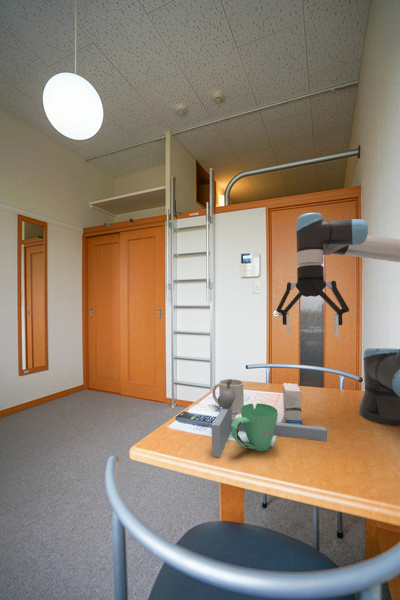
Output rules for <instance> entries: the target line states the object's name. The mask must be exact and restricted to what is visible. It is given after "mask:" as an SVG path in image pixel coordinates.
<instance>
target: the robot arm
mask: <svg viewBox="0 0 400 600" xmlns="http://www.w3.org/2000/svg"><path fill="white" fill-rule="evenodd" d="M295 230H296V231H295V234H296V265H297V266H298V267H297V268H296V272H297V273H296V275H297V276H296V278H297V279H296V283H293V282H290V281H289V282H287V284H286V289H285V292H284V294H283V296H282V298H281V300H280V302H279V304H278V306H277V307H276V309H275V310H276V313H279V314H281V315H282V325H283V326H286V337H290V314H288V312H289V311H291V308H293V306H294V305H296V303H297V302H298V300H299V299H300V298H301V297H305V298H306V297H313V298H314V297H318V296H319V297H320V298H322V299H323V300H324V301H325V303H326V304H327V305H328V306H330V308H331V309H332V310H333V311H334V312H335V314H333V334H334V337H335V338H339V337H340V336H339V335H340V334H339V332H340V330H339V329H340V328H339V326H343V314H345V313H349V312H350V308H349V306H348V305H347V302H346V301H345V300H344V298H343V296H342V294H341V292H340V291H339V289H338V286H337V281H336V280H331V281H327V282H326V281H325V267H324V266H323V264H324V263H325V261H324V260H325V259H324V256H329V255H339V256H340V255H341V256H349V257H357V258H364V259H371V260H380V261H388V262H393V263H394V262H395V263H400V238H394V237H386V236H377V235H368V233H369V226H368V223H367V221H366V220H365V219H362V218H361V219H359V218H358V219H357V218H356V219H355V218H351V219H336V220H333V219H331V220H324V217H323V214H322V213H320V212H308V213H303V214H300V215H299V216H298V217H297V219H296V227H295ZM326 287H328V289H330V290H331V291H332V294H333V295H334V297H335V299H336V301H337V302H338V304H339V306H340V307H339V306H338V305H337V304H336V303H335V302H334V300H332V299H331V298H330V297H329V296H328V294H327V293H326V292H324V289H325V288H326ZM295 288H296V289H297V290H298V293H297V294H296V295H295V296H294V298H293V299H292V300H291V301H290V302H289V303H288V305H287V306H286V307H285V308H284V309H282V308H283V307H284V305H285V303H286V301H287V299H288V297H289V295H290V293H291V291H292V290H294V289H295ZM340 308H341V309H340ZM362 359H363V371H364V372H363V374H364V376H363V377H364V393H363V395H362V398H361V400H360V404H359V414H360V415H361V417H363V418H365V419H366V420H369V421H371V422H374V423H377V424H381V425H384V426H385V425H387V426H392V427H400V348H387V347H386V348H380V347H379V348H378V347H377V348H372V347H371V348H370V347H369V348H366V349H364V351H363V358H362Z"/></svg>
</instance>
